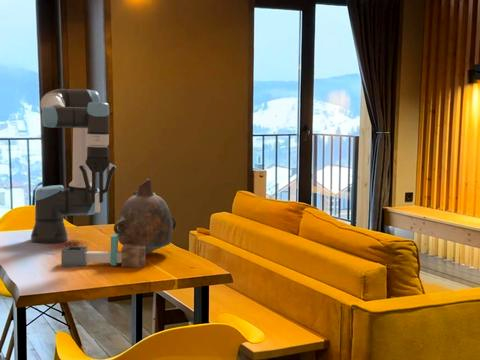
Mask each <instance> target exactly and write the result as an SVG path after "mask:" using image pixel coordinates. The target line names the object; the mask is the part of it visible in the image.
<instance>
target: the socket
mask: <svg viewBox="0 0 480 360" xmlns="http://www.w3.org/2000/svg"><path fill="white" fill-rule="evenodd" d="M121 251H122V263H121V268H122V269H124V268H125V269H128V268H129V269H145V266H146V254H145V253H146V244H123V245H122V247H121Z"/></svg>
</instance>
